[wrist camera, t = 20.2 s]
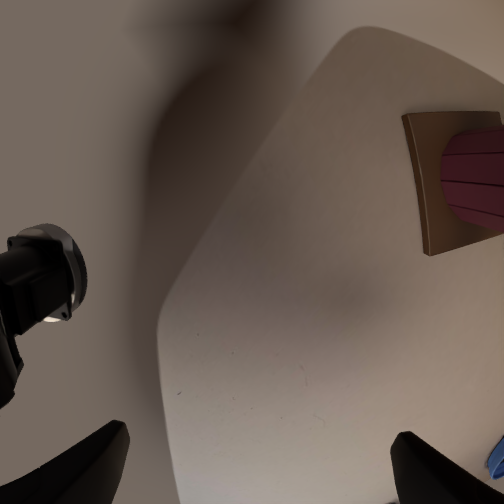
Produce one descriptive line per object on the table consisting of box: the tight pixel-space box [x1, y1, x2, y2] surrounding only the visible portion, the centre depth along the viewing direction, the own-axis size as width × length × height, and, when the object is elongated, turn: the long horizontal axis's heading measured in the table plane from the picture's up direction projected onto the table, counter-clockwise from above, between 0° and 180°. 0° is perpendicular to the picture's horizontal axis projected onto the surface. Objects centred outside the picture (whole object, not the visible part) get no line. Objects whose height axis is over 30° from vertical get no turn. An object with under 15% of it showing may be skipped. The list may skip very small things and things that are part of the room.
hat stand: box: [402, 111, 504, 256], centre depth 15 cm, size 10×10×6 cm
